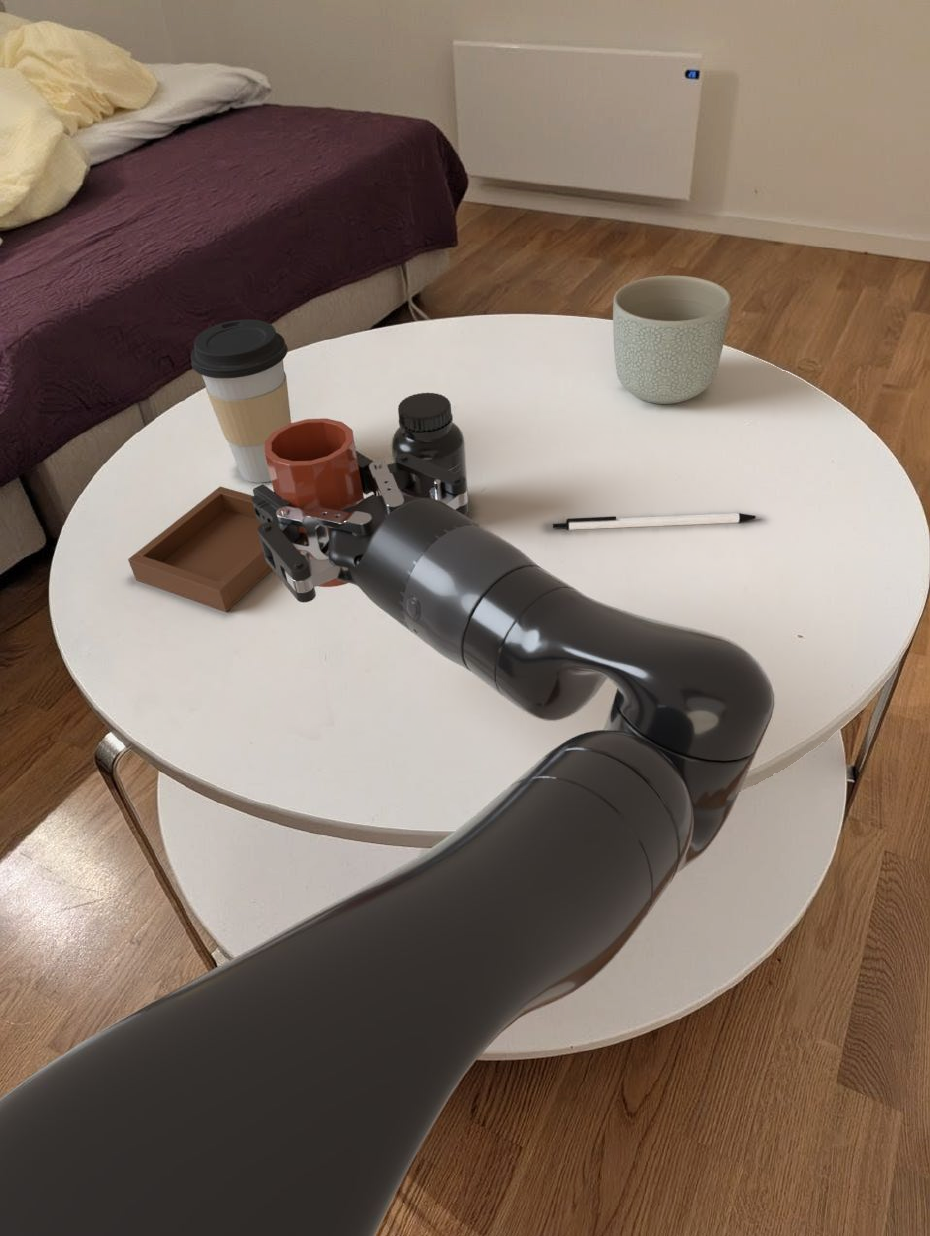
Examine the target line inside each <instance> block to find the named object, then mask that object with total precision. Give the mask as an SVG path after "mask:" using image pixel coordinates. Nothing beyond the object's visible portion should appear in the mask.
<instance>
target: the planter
mask: <svg viewBox="0 0 930 1236" xmlns="http://www.w3.org/2000/svg"><path fill="white" fill-rule="evenodd" d="M612 299H613V300H612V301H613V302H612V335H613V355H614V364H615V365H614V366H615V371H616V376H617V378H618V380H619V383H620V384H621V385H622V386H623V388H624V389H625V390H626V391H627V392H629V393H630V394H631V395H633V396H634V397H636V398H639V399H640V400H642V401H644V402H649V403H653V404H660V405H661V404H662V405H670V404H671V405H672V404H678V403H682V402H685V401H688V400H690V399H693V398H694V397H696V396H698V395H700V394H702V393H703V392H704V391H705V390H706V389H707V388H708V387H709V386H710V385H711V384H712V382H713V381H714V379H715V376H716V374H717V371H718V368H719V365H720V360H721V357H722V353H723V348H724V343H725V339H726V334H727V330H728V329H727V328H728V324H729V319H730V318H729V317H730V313H731V303H732V297H731V295H730V292H729V291H728V290H727V289H725V288H724V287H723V286H721V285H719V284H718V283H716V282H715V281H711V280H708V279H704V278H700V277H695V276H687V275H658V276H657V275H656V276H650V277H649V276H648V277H645V278H640V279H636V280H634V281H631V282H628V283H627V284H625V285H623V286H621V287H620V288H619V289H618V290H617V291H616V292H615V294H614V295H613V298H612Z"/></svg>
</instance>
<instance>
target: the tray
mask: <svg viewBox="0 0 930 1236" xmlns="http://www.w3.org/2000/svg"><path fill="white" fill-rule="evenodd" d="M252 497H254V495H251V494H248V493H245V492H241V491H237V490H234V489H230V488H227V487H224V486H218V487H217V488H216V489H215V490H213V491H212V492H211V493H210V494H208V495H207V496H206V497H204V498H203V499H202V500H201V501H200V502H199V503H197V504H196V505H195V506H194V507H192V508H191V509H190V510H189V511H187V512H186V513H184V514H183V515H182V516H180V517H179V518H178V519H177V520H176V521H174V522H173V523H172V524H170V525H169V526H168V527H167V528H166V529H164V530H163V531H162V532H161V533H159V534H158V535H157V536H156V537H154V538H153V539H152V540H150V541H149V542H148V543H147V544H145V545H144V546H143V547H142V548H140V549H139V550H138V551H137V552H135V553H134V554H132V555H131V556H130V557H129V558H128V559H127V561H128V563H129V567H130V569H131V572H132V573H133V577H134V579H135V580H136V581H137V582H140V583H143V584H146V585H149V586H151V587H154V588H157V589H160V590H162V591H165V592H168V593H171V594H174V595H177V596H180V597H182V598H185V599H188V600H191V601H193V602H197V603H199V604H202V605H205V606H206V607H207V606H208V607H210V608H213V609H216V610H217V611H221V612H224V613H227V612H229V611H230V610H231V609H232V608H233V607H234V606H235V605H237V603H238V602H239V601H240V600H241V599H243V597H245V596H246V595H247V594H248V593H249V592H250V591H251V590H252V589H253V588H255V586H257V585H258V583H260V582H261V581H262V580H263V579H264V578H265V577H266V576H267V575H268V574H269V573H271V571H273V569H272V568H271V567H270V566H269V564H268V563H267V562H266V560H265V556H264V552H263V549H262V545H261V541H260V538H259V534H258V530H257V528H258V527H259V526H260V525H261V524H263V523H262V522H260V521H259V520H257V518H256V514H255V510H254V507H253V503H252V499H251V498H252Z"/></svg>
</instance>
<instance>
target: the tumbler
mask: <svg viewBox="0 0 930 1236" xmlns="http://www.w3.org/2000/svg"><path fill="white" fill-rule="evenodd" d="M356 451H357V449H356V443H355V437H354V430H353V429H352V428H351V427H349V426H348V425H347V424H345V423H344V422H343V421H340V420H337V419H336V420H335V419H332V418H331V419H330V418H327V417H325V418H324V417H323V418H306V419H302V420H298V421H294V422H291V423H290V424H287V425H285V426H284V427H282V428H280V429H278V430H276V431H274V432H273V433H272V434H271V435H270V436H269V438H268V439H267V440H266V441H265V443H264V453H265V457H266V461H267V465H268V469H269V474H270V478H271V481H270V482H271V487H272V489H273V490H272V491H273V492H275V493H276V494H277V495H279V496H280V497H281V498H282V499H284V500H286V501H287V502H288V503H290V506H291V507H295V508H300V509H304V510H309V511H311V510H312V509H313V508H314V507H315V506H320V507H325V508H330V509H334V510H339V511H342V510H343V509H346V508H349V507H353V506H355V505H357V504H358V503H359V502H361V501H362V500H363V499H365V494H364V493H363V489H362V483H361V477H360V471H359V466H358V460H357V454H356ZM329 528H330V527H327V531H328V536H329ZM299 531H300V532H303V533H307V531H306V529H305V528H303V527H300V526H299ZM298 551H299V552H301V551H302V550H299V549H298ZM308 554H309V556H312V555H311V553H310V552H308ZM347 584H348V583H346V582H342V581H339V580H338V579H336V578H335V579H332V580H330V581H328V582H325V583H323V584H321V585H318V586H317V587H318V588H334V587H340V586H344V585H347Z"/></svg>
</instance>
